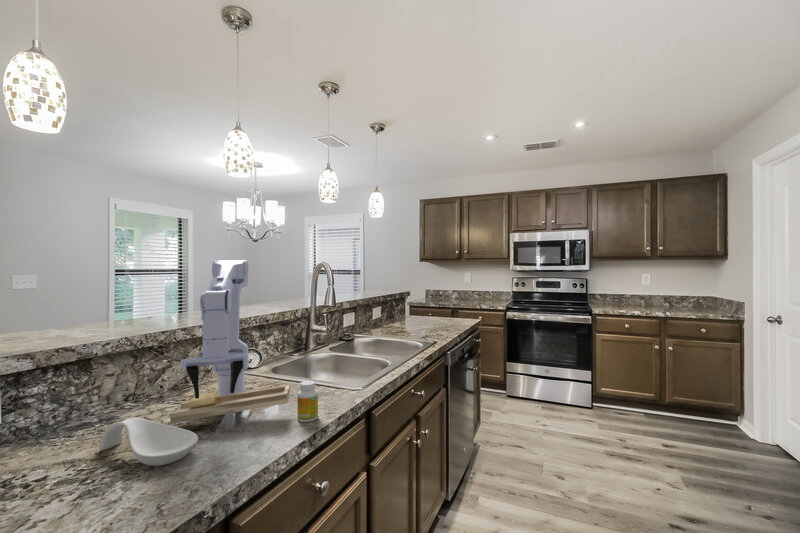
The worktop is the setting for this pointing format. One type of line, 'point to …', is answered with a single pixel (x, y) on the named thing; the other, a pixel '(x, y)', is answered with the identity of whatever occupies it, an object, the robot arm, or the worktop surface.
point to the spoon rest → (151, 440)
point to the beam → (234, 403)
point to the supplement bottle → (307, 402)
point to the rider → (205, 400)
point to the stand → (233, 421)
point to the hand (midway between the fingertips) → (214, 395)
